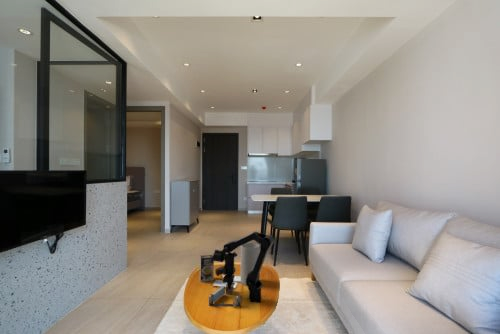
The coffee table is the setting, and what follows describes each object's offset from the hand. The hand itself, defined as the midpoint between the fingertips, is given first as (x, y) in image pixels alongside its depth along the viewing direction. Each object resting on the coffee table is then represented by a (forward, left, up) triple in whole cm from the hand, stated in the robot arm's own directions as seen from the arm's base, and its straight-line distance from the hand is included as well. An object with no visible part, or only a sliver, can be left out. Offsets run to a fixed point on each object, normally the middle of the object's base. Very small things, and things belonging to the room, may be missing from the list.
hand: (229, 288), depth 169 cm
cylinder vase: (-12, -19, -4) cm, 23 cm away
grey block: (+6, +6, -3) cm, 9 cm away
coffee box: (+18, -22, -4) cm, 29 cm away
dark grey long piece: (+1, +14, -4) cm, 14 cm away
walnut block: (0, -3, -4) cm, 5 cm away
